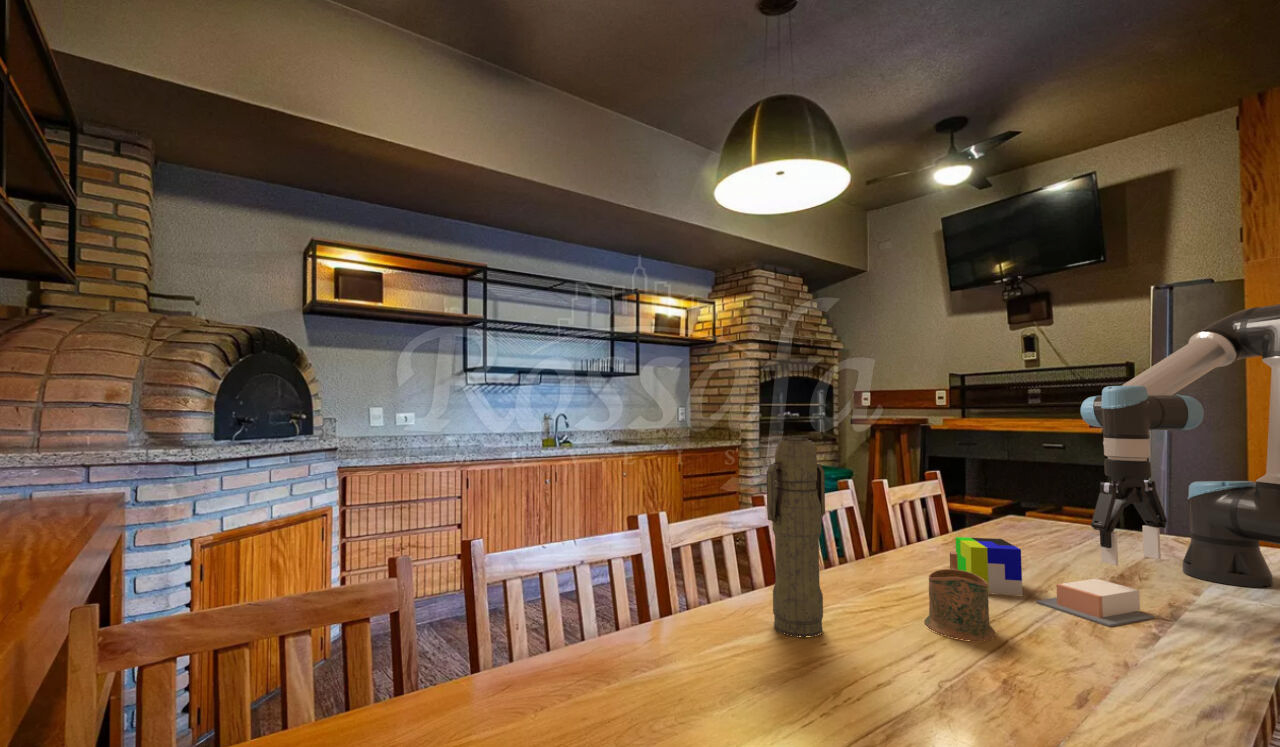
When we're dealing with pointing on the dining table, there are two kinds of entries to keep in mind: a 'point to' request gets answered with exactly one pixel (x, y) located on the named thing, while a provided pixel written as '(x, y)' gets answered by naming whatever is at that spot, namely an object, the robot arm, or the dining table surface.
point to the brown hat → (959, 604)
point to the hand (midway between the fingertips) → (1131, 560)
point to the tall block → (1098, 597)
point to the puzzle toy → (992, 563)
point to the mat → (1106, 621)
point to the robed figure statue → (796, 536)
